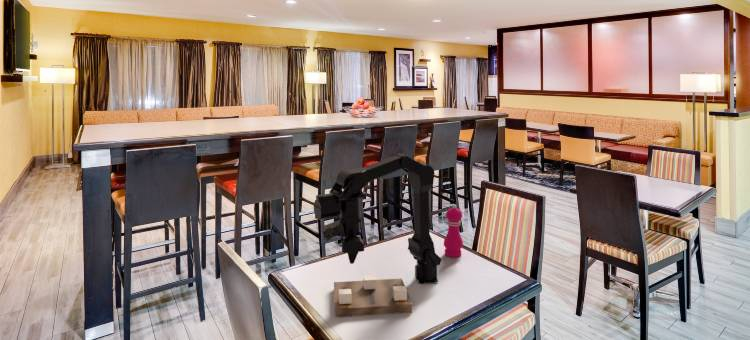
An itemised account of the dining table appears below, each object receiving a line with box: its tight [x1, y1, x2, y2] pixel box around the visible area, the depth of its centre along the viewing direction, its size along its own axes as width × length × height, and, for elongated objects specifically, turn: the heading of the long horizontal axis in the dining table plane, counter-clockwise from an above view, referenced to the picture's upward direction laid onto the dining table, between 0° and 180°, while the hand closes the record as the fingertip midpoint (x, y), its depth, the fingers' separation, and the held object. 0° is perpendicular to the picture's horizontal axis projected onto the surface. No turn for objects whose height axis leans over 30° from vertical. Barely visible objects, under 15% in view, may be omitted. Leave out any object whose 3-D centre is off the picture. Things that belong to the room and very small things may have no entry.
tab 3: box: [393, 285, 408, 301], centre depth 128 cm, size 4×3×3 cm
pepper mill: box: [443, 203, 464, 259], centre depth 166 cm, size 7×7×20 cm
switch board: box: [333, 278, 413, 318], centre depth 133 cm, size 22×17×3 cm
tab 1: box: [339, 289, 352, 304], centre depth 127 cm, size 4×3×3 cm
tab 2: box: [363, 275, 377, 289], centre depth 135 cm, size 4×3×3 cm
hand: (351, 263), depth 132 cm, fingers closed
